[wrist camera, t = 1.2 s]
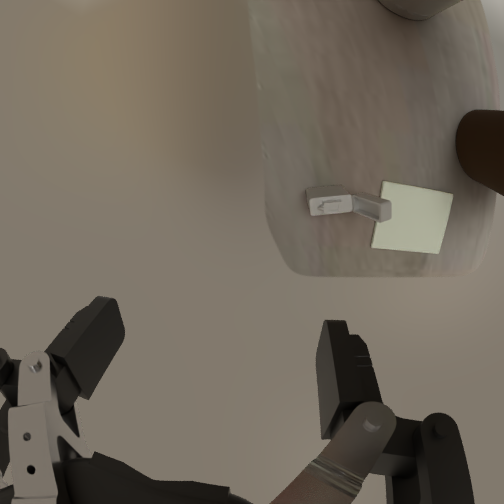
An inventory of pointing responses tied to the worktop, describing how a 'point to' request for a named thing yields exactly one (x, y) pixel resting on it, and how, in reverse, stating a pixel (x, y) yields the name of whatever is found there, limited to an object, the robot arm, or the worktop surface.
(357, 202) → the lighter
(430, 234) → the mat
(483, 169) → the olive oil
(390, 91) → the worktop surface
